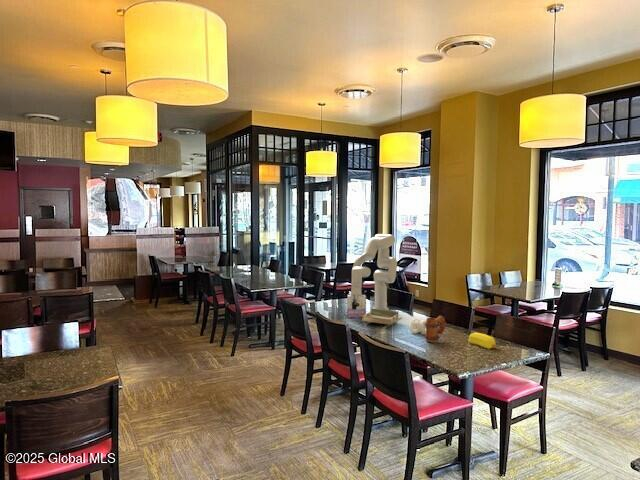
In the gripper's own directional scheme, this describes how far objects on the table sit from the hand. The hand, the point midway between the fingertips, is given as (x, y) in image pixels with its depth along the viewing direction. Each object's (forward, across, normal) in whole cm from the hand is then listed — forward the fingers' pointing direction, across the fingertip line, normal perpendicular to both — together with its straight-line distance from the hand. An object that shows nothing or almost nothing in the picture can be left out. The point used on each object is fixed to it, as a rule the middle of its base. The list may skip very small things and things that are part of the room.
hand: (356, 308), depth 324 cm
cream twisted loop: (+7, +19, +52) cm, 56 cm away
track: (+7, +2, +22) cm, 23 cm away
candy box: (+7, 0, 0) cm, 7 cm away
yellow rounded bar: (+7, +25, +92) cm, 96 cm away
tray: (+6, +8, +22) cm, 24 cm away
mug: (+7, +31, +66) cm, 73 cm away
